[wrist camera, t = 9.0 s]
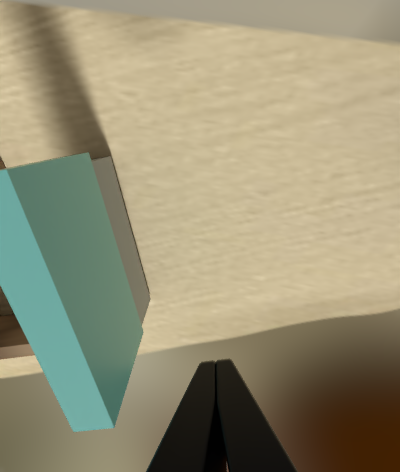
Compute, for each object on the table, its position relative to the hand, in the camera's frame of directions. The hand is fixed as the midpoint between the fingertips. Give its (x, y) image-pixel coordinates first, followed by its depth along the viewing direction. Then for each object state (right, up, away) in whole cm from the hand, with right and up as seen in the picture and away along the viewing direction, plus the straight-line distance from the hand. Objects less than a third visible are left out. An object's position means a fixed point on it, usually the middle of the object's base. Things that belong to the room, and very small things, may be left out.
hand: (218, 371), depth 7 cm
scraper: (-6, +4, +13) cm, 15 cm away
